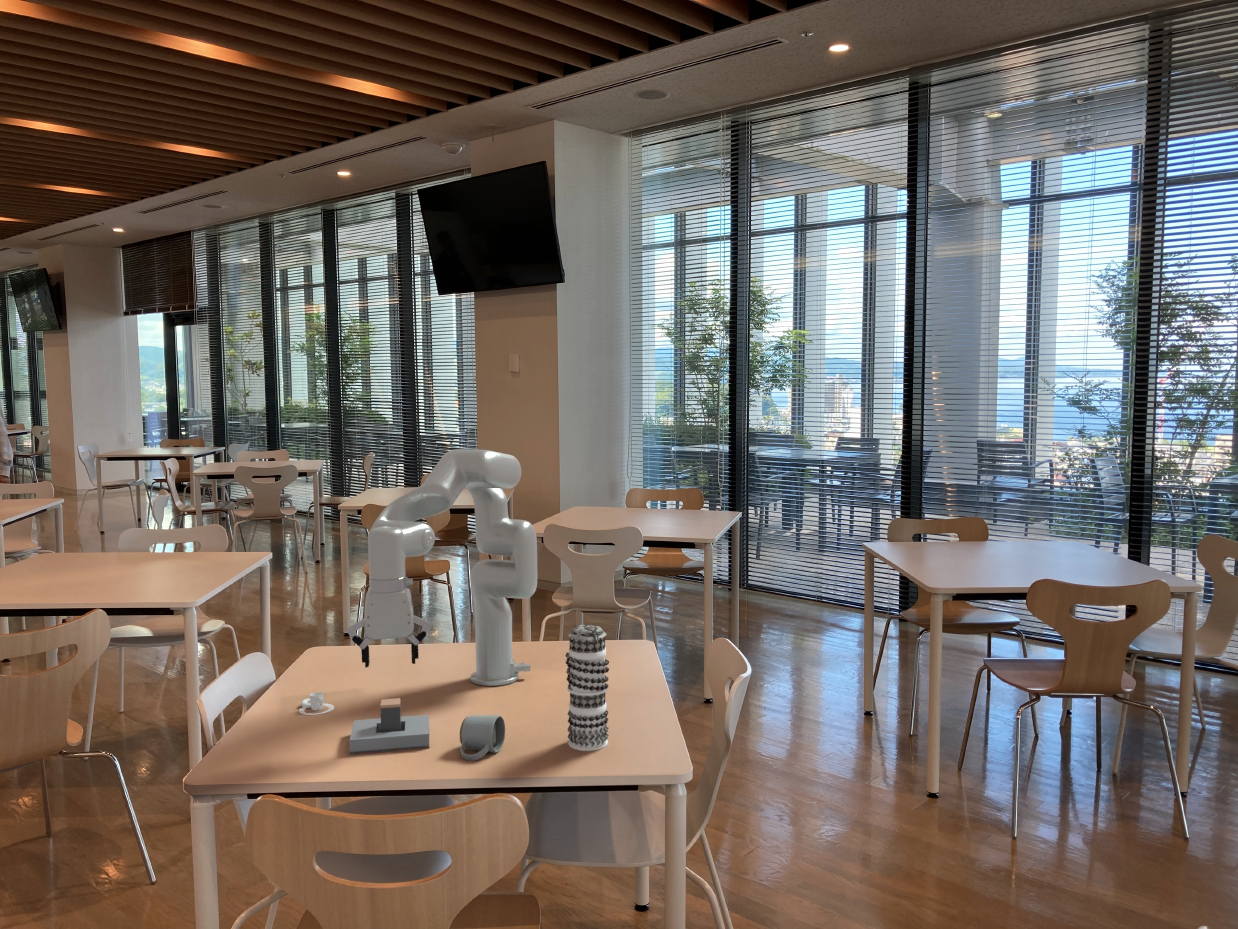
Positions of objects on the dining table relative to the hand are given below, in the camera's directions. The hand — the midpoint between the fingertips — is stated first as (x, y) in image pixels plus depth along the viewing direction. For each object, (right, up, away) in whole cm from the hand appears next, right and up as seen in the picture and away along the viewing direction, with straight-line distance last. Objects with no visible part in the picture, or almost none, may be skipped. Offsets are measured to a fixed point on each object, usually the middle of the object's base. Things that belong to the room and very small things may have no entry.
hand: (390, 663), depth 192 cm
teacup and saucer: (-22, -16, +24) cm, 36 cm away
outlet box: (0, -17, +1) cm, 17 cm away
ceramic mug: (+20, -17, -6) cm, 27 cm away
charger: (0, -16, +1) cm, 16 cm away
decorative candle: (+42, -17, -2) cm, 45 cm away
